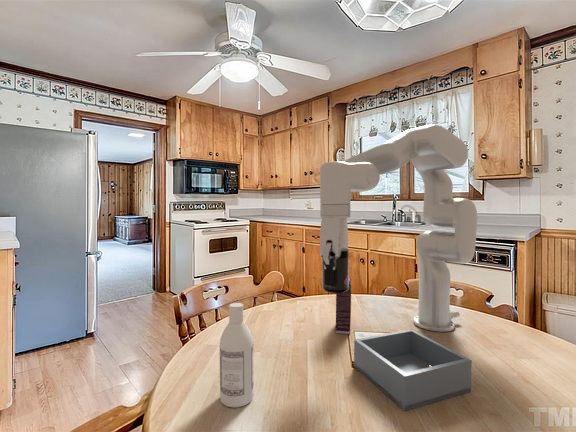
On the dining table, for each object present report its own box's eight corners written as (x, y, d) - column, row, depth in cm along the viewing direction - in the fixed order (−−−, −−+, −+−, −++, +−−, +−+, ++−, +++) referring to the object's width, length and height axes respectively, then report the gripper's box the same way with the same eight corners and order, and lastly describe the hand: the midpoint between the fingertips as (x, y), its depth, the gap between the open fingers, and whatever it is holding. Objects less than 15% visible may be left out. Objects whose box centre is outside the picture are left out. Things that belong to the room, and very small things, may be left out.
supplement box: (350, 334, 99) (351, 284, 98) (335, 333, 100) (335, 283, 99) (351, 324, 107) (351, 277, 106) (336, 323, 108) (336, 277, 107)
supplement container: (345, 295, 76) (345, 252, 76) (318, 292, 79) (318, 250, 78) (351, 287, 82) (351, 248, 82) (326, 285, 85) (326, 246, 85)
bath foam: (238, 384, 72) (237, 297, 71) (260, 397, 67) (259, 303, 66) (213, 399, 66) (212, 305, 65) (235, 413, 62) (234, 312, 61)
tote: (411, 354, 86) (411, 329, 85) (470, 391, 69) (471, 360, 69) (354, 367, 79) (354, 339, 79) (404, 411, 62) (404, 376, 62)
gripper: (331, 210, 89) (331, 273, 90) (308, 213, 73) (309, 288, 74) (357, 210, 86) (358, 275, 87) (340, 213, 70) (340, 292, 71)
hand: (335, 281), depth 81 cm, fingers closed on supplement container, 6 cm apart
